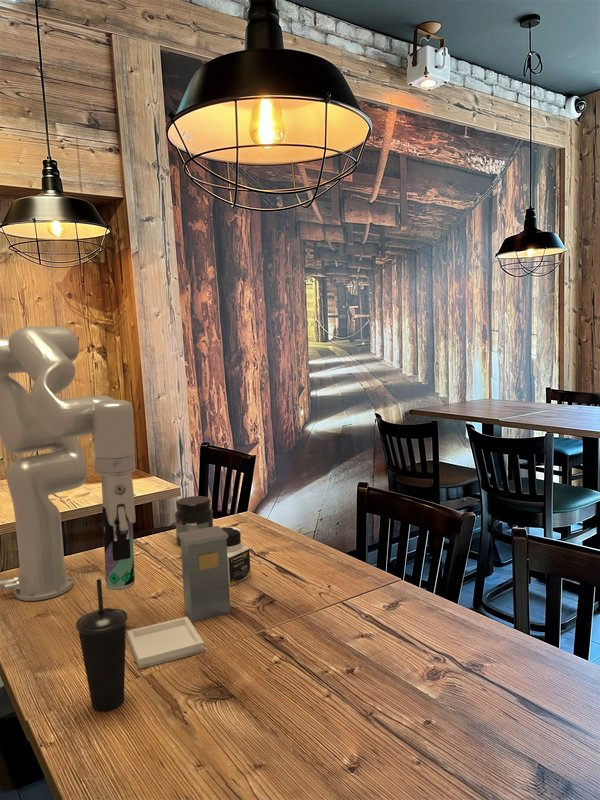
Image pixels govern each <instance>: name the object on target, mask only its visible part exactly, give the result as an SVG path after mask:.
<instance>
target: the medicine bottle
mask: <svg viewBox="0 0 600 800" xmlns="http://www.w3.org/2000/svg"><path fill="white" fill-rule="evenodd" d="M220 528H221V529H222V530H224V531H225V532H226V533H227V534H228V538H226V541H227V559H228V578H229V587H232V586H233V585H235V584H237V582H238V583H239V582H241V581H243V580H245V579H247V578H250V577H251V575H252V572H251V555H250V553H251V551H250V547H248V546H244V545H242V533H241V532H242V531H241V529H240V528H238V527H234V526H223V527H220Z"/></svg>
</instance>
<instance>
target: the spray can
mask: <svg viewBox="0 0 600 800" xmlns="http://www.w3.org/2000/svg"><path fill="white" fill-rule="evenodd" d="M119 489H120V488H119ZM101 506H102V526H103V527H102V529H103V548H104V549H103V550H104V552H103V553H104V566H105V567H104V569H105V585H106V586H105V587H106V588H107V590H112V591H123V590H126V589H129V588H132V587H133V586H134V585H135V584H136V583H135V581H136V580H135V579H136V578H135V556H134V554H135V551H134V531H133V524H132V523H130V522H129V520H128V517H127V520H128V530H129V538H130V558H129V559H123V560H117V561H114V560H113V550H112V540H114V538H113V527H112V526H111V525H109V523H108V519H107V515H106V509H105V504H104V501H103V500H102V503H101ZM115 524H119V521H115ZM117 530H119V527H116V531H117Z"/></svg>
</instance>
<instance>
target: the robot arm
mask: <svg viewBox="0 0 600 800" xmlns="http://www.w3.org/2000/svg"><path fill="white" fill-rule="evenodd" d="M79 343H80V342H79V339H78V338H77V335H76V334H75V333H74V332H73V331H72V330H71V329H69V328H68V327H64V326H25V327H22V328H18V329H16V330H14V332H12V334H10V336H0V439H1V442H2V444H3V447H4V448H5V450H6V451H7V452H8V453H11V454H14V455H19V454H27V453H34V452H39V451H45V450H51V451H52V452H48V453H46V452H45V453H41V454H35V455H29V456H26V457H22V458H19V459H17V460H15V461H13V462H12V463H11V464H10V465H9V466H8V468H7V471H6V476H5V477H6V482H7V483H6V484H7V486H8V490H9V493H10V496H11V497H10V498H11V500H12V501H11V503H12V506H13V512H14V521H15V531H16V540H17V552H18V562H19V564H18V566H19V571H18V575H14V576H13V577H10V578H3V579H0V590H1V589H4V591H9V590H13V589H14V591H13V593H14V597H15V599H17V600H21V601H25V602H26V601H27V602H29V601H30V602H35V601H43V600H48V599H52V598H55V597H59V596H61V595H63V594H65V593H66V592H68V591H70V590H71V589H72V587H73V586H74V579H73V578H72V577H71V576H69V575H66V567H65V565H66V564H65V554H64V553H65V552H64V542H63V541H64V540H63V529H62V528H63V527H62V517H61V512H60V509H59V508H58V506H57V505H56V504H54V503H53V501H52V500H50V498H49V496H51V495H55V494H59V493H62V492H67V491H70V490H74V489H76V488H77V489H78V488H79V487H82V486H83V485H84V483H86V480H87V477H88V466H87V461H86V458H85V456H84V452H83V449H82V447H81V444H80V441H79V439H78V437H82V436H88V435H93V439H92V441H93V455H94V457H93V461H94V473H95V475H98V476H101V495H102V496H101V497H102V502H103V501H104V504H105V509H106V515H107V519H108V523H109V525H111V526H112V527H113V538H114V540H112V550H113V560H114V561H117V560H123V559H129V558H130V538H129V530H128V520H129V522H130V523H132V525H133V524H134V523H136V521H137V519H136V507H135V505H136V504H135V495H134V483H133V477H132V474H133V473H135V471H136V451H135V449H136V448H135V424H134V422H135V421H134V408H133V404H132V403H131V402H130V401H128V400H125V399H115V398H113V397H110V396H109V395H93V396H84V397H83V396H82V397H72V398H64V399H61V398H60V399H59V398H58V396H56V395H57V394H58V393H60V392H61V391H63V390H65V389H66V388H68V386H69V385H70V384H71V383H72V382H73V380H74V378H75V375H76V367H75V364H74V363H73V362H74V361H75V360H76V359H77V357H78V355H79V354H80V344H79ZM19 373H20V374H21V373H26V374H27V375H28V376H29V377H30V378H31V380H32V382H33V384H32V387H31V391H30V392H31V393H30V395H29V393H28V391H27V390H26V388H25V387H23V385H21V384H20V383H19V382H18V381H17V380H15V379H14V378H12V377H11V376H10V375H9V374H19ZM119 488H120V489H119ZM127 517H128V520H127ZM115 521H119V524H115ZM116 527H119V530H117V531H116Z"/></svg>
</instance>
